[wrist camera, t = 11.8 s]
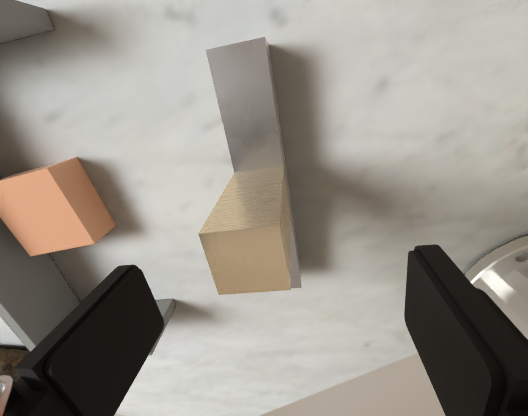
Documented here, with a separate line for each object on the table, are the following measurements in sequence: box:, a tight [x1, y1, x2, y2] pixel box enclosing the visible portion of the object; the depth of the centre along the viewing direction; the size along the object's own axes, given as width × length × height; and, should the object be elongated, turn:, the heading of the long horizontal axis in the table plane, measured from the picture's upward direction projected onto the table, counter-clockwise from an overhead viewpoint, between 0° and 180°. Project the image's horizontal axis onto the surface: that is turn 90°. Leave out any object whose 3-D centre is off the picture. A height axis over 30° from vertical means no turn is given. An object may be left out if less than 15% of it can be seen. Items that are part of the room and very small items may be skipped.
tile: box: [0, 157, 116, 256], centre depth 20 cm, size 6×6×3 cm
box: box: [0, 0, 176, 355], centre depth 19 cm, size 11×24×5 cm, turn 10°
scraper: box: [199, 37, 301, 295], centre depth 14 cm, size 3×16×10 cm, turn 10°
